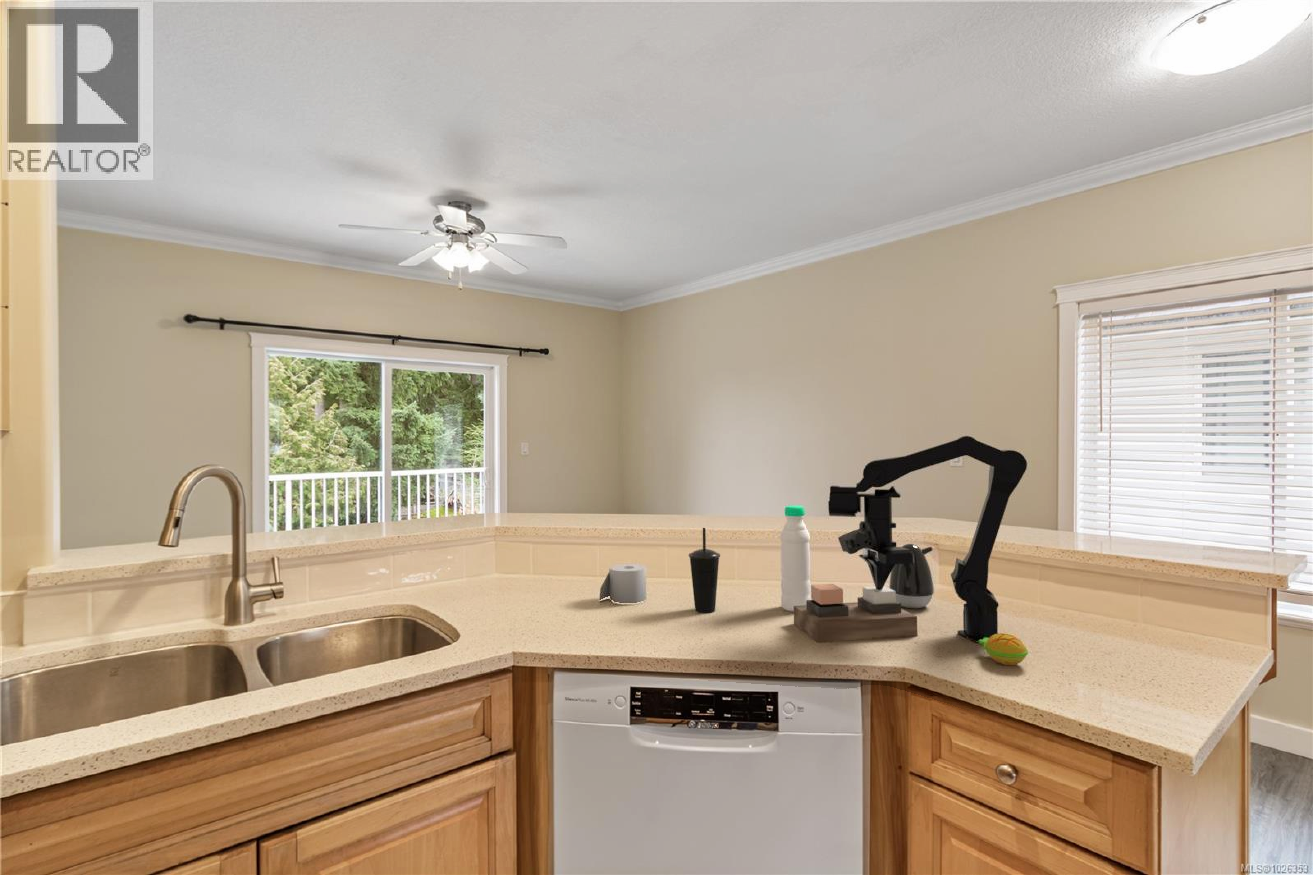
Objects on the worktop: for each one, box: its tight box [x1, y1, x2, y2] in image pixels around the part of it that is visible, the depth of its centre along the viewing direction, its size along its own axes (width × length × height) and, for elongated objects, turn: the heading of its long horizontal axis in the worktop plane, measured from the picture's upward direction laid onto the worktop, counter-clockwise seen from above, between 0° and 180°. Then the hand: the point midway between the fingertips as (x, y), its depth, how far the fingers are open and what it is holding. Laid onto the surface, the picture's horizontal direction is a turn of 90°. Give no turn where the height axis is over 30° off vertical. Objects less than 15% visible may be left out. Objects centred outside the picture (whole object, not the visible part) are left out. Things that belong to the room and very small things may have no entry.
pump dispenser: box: [888, 543, 935, 609], centre depth 154 cm, size 10×10×15 cm
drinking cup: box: [688, 527, 721, 614], centre depth 152 cm, size 8×8×20 cm
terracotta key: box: [810, 583, 844, 605], centre depth 134 cm, size 5×5×3 cm
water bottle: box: [780, 505, 812, 613], centre depth 152 cm, size 7×7×25 cm
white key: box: [862, 585, 896, 604], centre depth 136 cm, size 5×5×3 cm
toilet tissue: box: [598, 563, 647, 603], centre depth 161 cm, size 9×13×9 cm
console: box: [793, 596, 918, 643], centre depth 135 cm, size 13×22×6 cm, turn 99°
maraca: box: [977, 632, 1029, 666], centre depth 115 cm, size 7×10×5 cm
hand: (879, 589), depth 136 cm, fingers closed, pressing on white key
